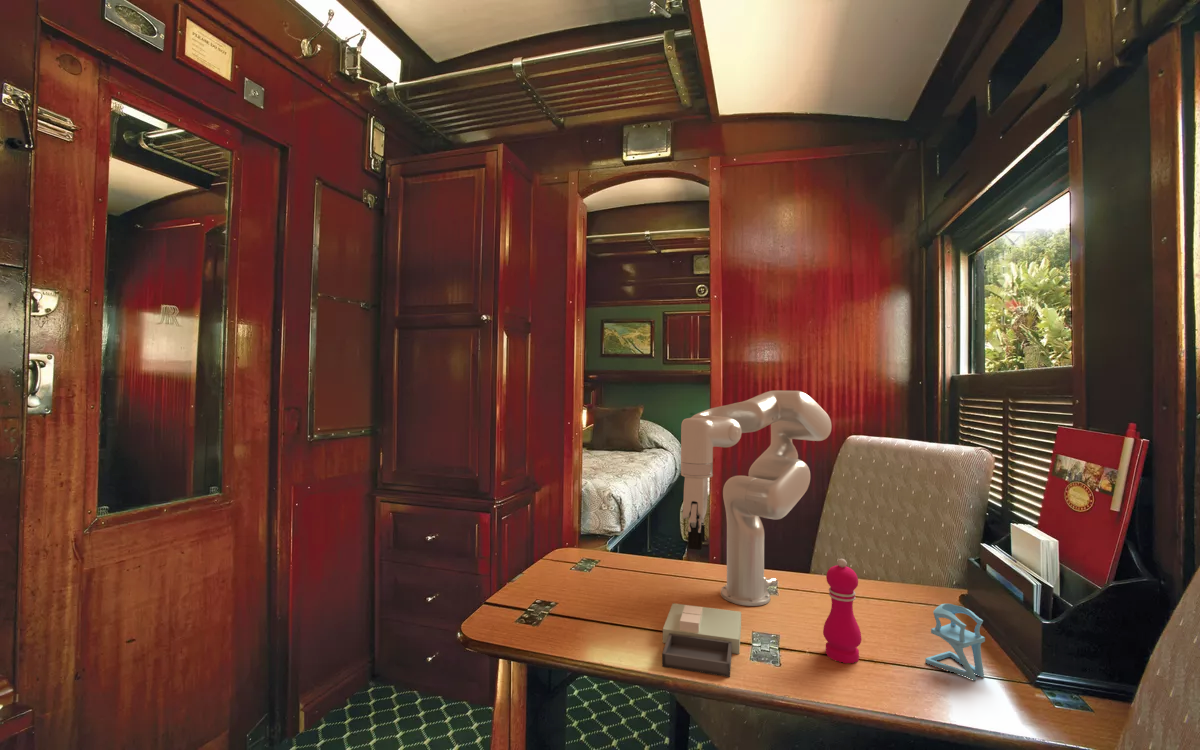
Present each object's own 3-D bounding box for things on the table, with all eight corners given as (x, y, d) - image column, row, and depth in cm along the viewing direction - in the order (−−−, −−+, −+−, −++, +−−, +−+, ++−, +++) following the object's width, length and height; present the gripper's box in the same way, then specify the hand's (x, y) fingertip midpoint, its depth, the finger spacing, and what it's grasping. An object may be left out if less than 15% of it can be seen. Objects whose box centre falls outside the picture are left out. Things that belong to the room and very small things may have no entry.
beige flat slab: (672, 615, 128) (672, 603, 128) (741, 624, 123) (741, 611, 123) (662, 642, 114) (662, 628, 115) (739, 654, 110) (739, 639, 110)
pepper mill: (859, 669, 105) (859, 567, 105) (820, 658, 108) (820, 560, 109) (863, 653, 111) (863, 557, 111) (826, 644, 114) (826, 551, 115)
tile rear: (684, 613, 122) (684, 605, 122) (702, 616, 121) (702, 607, 121) (682, 621, 118) (682, 612, 118) (700, 623, 117) (700, 614, 117)
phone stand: (966, 684, 100) (967, 620, 100) (924, 662, 107) (924, 603, 107) (992, 675, 103) (992, 613, 103) (949, 655, 110) (949, 597, 110)
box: (669, 645, 114) (669, 633, 114) (731, 654, 110) (731, 642, 110) (662, 666, 105) (662, 653, 105) (729, 677, 101) (729, 664, 101)
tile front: (682, 622, 118) (682, 613, 118) (700, 624, 117) (700, 615, 117) (679, 630, 114) (679, 620, 114) (698, 632, 113) (698, 623, 113)
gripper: (685, 463, 137) (685, 533, 137) (676, 474, 120) (675, 554, 120) (715, 465, 135) (715, 536, 134) (709, 476, 118) (709, 557, 118)
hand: (696, 544), depth 127 cm, fingers open, 5 cm apart
